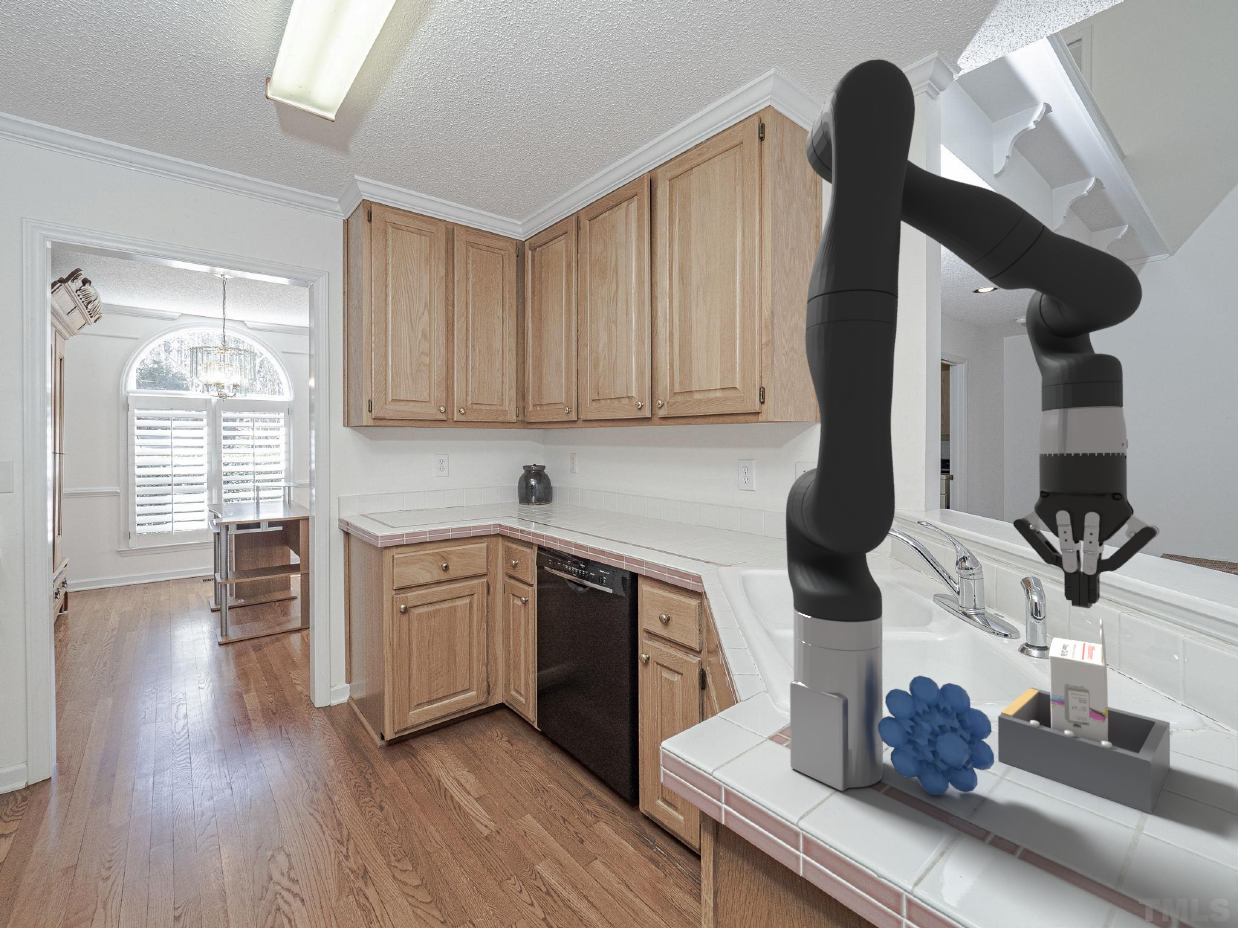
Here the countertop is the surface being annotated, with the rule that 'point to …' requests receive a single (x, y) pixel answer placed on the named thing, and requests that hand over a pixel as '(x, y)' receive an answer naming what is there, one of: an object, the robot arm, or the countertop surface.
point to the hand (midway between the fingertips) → (1082, 605)
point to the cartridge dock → (1088, 751)
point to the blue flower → (936, 735)
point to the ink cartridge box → (1079, 687)
